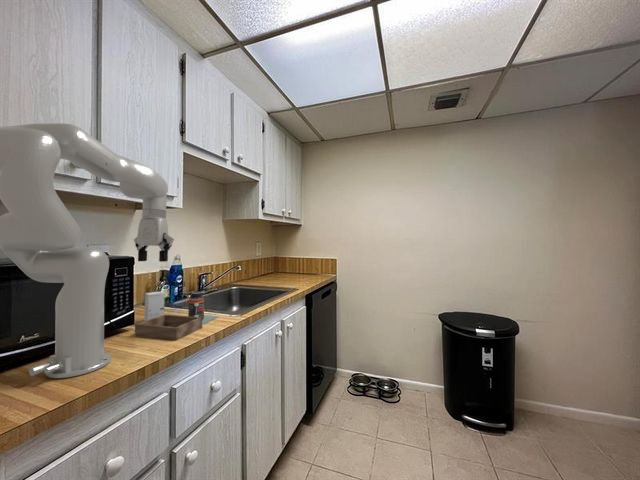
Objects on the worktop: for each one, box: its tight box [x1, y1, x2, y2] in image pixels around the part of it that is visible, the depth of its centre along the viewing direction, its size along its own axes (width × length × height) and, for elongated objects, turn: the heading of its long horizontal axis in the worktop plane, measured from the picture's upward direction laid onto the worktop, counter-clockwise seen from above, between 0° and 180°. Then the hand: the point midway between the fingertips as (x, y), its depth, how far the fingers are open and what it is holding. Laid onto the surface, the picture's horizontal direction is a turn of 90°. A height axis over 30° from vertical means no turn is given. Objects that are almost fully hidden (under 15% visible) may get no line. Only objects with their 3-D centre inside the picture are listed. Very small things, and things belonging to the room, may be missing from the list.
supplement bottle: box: [187, 291, 205, 320], centre depth 110 cm, size 6×6×11 cm
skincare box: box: [144, 291, 165, 321], centre depth 107 cm, size 6×4×12 cm
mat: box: [202, 315, 219, 326], centre depth 110 cm, size 12×12×1 cm
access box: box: [134, 314, 203, 341], centre depth 96 cm, size 13×17×4 cm
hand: (152, 261), depth 98 cm, fingers open, 9 cm apart
